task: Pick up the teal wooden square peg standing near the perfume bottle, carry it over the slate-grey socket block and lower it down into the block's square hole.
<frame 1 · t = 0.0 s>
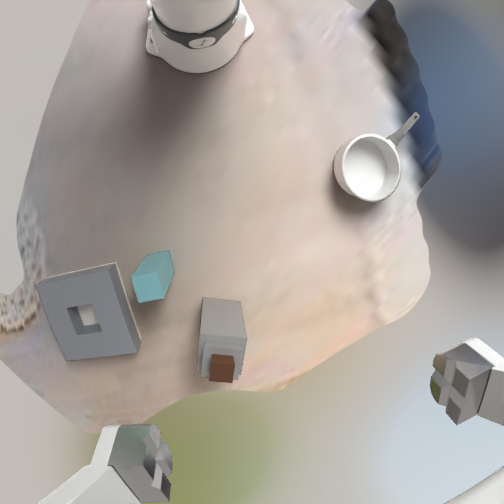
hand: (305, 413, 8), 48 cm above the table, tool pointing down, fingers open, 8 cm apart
perfume bottle: (219, 315, 59), on the table
peg: (161, 263, 55), on the table
socket block: (92, 308, 56), on the table
saucepan: (372, 151, 54), on the table
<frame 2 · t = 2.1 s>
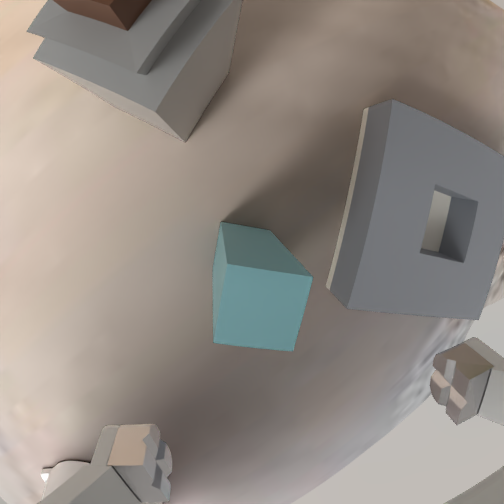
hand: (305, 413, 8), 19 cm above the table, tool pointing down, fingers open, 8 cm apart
perfume bottle: (171, 88, 23), on the table
peg: (240, 249, 26), on the table
socket block: (419, 216, 28), on the table
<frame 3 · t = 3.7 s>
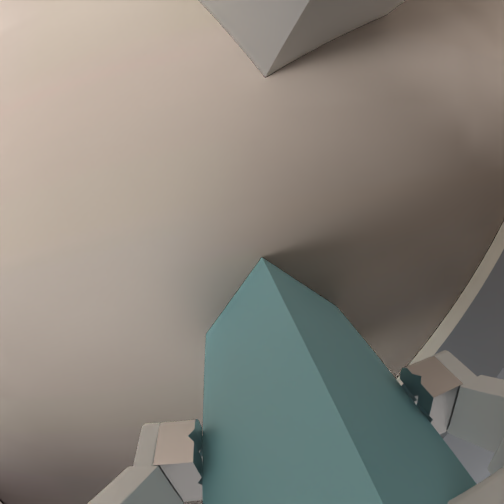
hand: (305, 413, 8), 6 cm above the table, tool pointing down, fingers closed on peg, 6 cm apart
peg: (272, 321, 13), on the table, touching gripper
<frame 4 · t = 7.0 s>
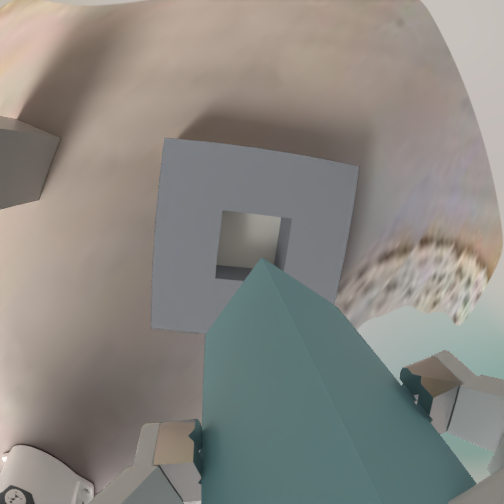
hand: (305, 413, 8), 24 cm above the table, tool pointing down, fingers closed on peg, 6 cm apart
perfume bottle: (27, 158, 26), on the table
peg: (272, 321, 13), point 18 cm above the table, touching gripper
socket block: (246, 236, 31), on the table
when the fingers open (8 cm above the table, at t = 10.3 s): peg stays where it is, resting on socket block.
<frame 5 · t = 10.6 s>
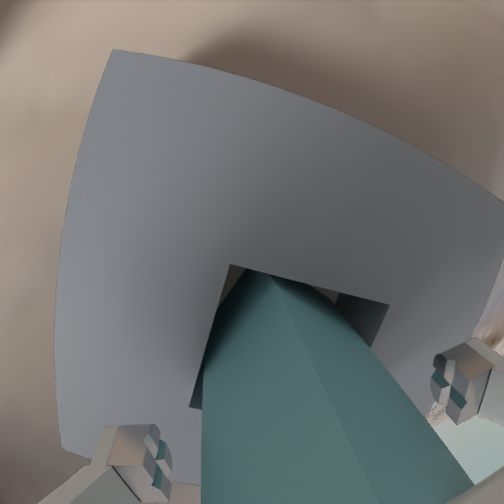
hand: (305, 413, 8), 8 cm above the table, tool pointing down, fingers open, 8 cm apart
peg: (268, 312, 14), point 1 cm above the table, touching socket block
socket block: (267, 303, 15), on the table
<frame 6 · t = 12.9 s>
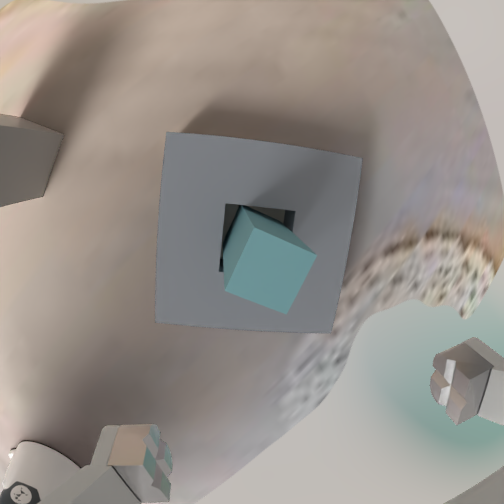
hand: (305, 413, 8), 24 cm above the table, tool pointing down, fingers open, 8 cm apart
perfume bottle: (31, 155, 27), on the table
peg: (251, 231, 30), point 1 cm above the table, touching socket block
socket block: (251, 229, 31), on the table
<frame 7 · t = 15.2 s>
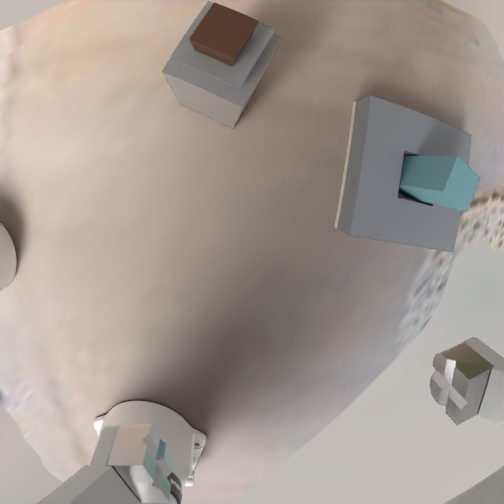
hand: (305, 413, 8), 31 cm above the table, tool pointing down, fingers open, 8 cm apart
perfume bottle: (220, 92, 34), on the table
peg: (402, 177, 37), point 1 cm above the table, touching socket block
socket block: (398, 176, 38), on the table
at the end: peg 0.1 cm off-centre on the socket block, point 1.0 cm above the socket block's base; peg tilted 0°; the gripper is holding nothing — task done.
